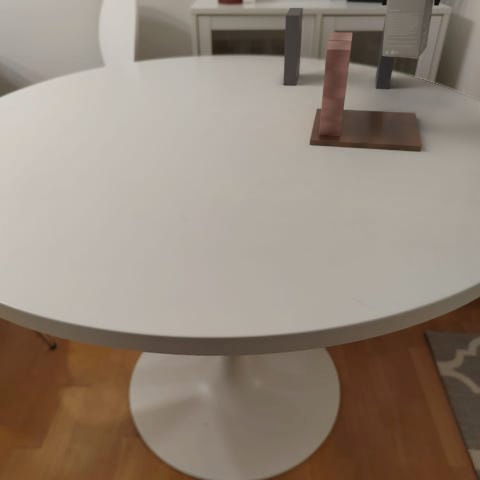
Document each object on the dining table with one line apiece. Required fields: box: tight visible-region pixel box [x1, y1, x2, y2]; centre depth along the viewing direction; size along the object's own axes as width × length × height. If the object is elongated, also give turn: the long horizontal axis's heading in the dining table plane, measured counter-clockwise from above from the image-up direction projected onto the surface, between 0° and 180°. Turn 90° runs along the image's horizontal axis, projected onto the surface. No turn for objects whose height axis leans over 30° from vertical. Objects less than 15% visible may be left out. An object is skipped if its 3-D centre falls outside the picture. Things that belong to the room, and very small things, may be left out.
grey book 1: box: [283, 7, 304, 86], centre depth 109 cm, size 3×8×15 cm, turn 168°
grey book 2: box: [375, 14, 396, 90], centre depth 106 cm, size 3×8×15 cm, turn 168°
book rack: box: [309, 31, 422, 152], centre depth 85 cm, size 20×16×16 cm
